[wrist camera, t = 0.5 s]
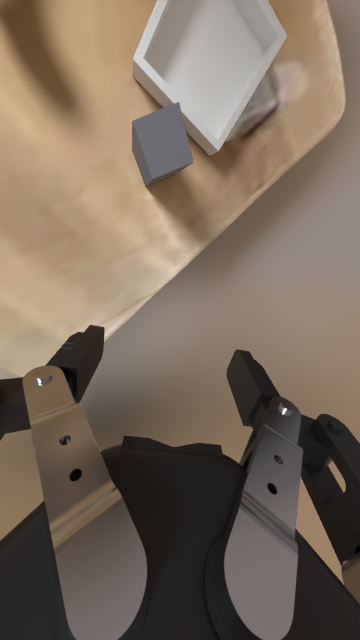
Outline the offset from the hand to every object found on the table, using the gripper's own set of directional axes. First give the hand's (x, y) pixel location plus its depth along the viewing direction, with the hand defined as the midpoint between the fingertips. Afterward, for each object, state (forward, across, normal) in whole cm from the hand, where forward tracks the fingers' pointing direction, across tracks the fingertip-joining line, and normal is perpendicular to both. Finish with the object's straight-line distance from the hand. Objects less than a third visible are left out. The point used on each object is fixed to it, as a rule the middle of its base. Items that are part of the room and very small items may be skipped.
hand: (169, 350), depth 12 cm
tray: (+27, +1, -24) cm, 36 cm away
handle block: (+26, +5, -13) cm, 30 cm away
